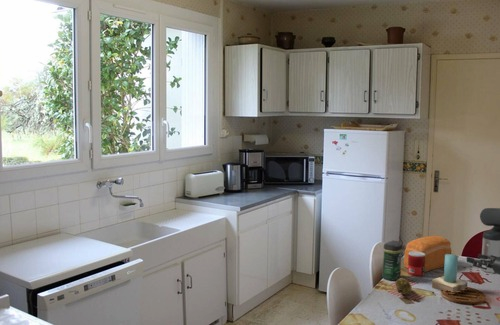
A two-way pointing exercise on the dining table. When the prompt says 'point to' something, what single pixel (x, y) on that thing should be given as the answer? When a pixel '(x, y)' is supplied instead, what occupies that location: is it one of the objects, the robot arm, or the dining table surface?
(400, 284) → the potato
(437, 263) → the bread
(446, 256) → the pillar
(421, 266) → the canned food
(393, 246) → the coffee jar
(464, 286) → the plinth
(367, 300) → the dining table surface
